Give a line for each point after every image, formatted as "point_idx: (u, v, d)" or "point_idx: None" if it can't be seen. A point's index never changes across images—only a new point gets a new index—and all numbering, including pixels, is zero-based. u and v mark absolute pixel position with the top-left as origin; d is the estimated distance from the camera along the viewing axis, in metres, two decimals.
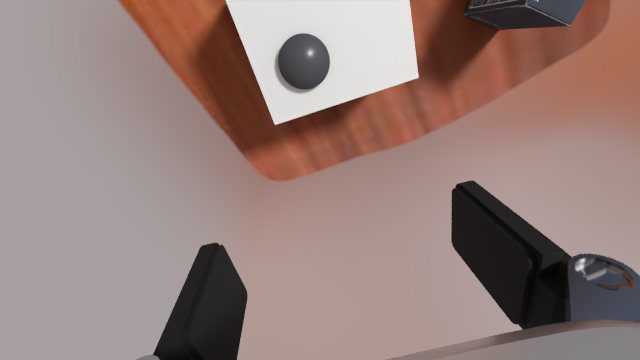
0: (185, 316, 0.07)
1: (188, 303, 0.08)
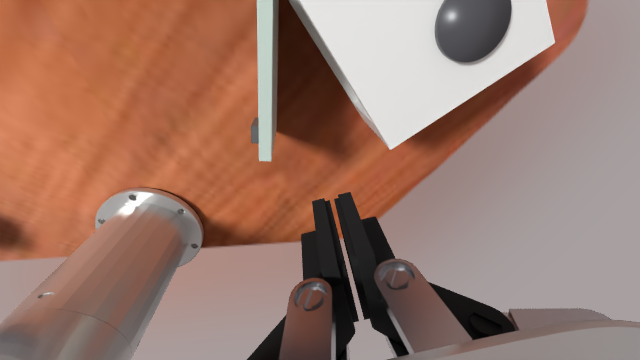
0: (334, 248, 0.08)
1: (329, 240, 0.09)
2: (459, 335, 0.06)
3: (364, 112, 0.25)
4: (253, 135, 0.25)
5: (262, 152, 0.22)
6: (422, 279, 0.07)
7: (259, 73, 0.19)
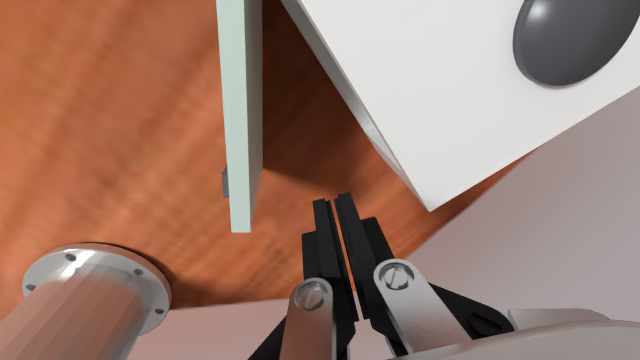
0: (334, 248, 0.08)
1: (329, 240, 0.09)
2: (458, 335, 0.06)
3: (385, 150, 0.18)
4: (226, 187, 0.17)
5: (236, 220, 0.14)
6: (421, 279, 0.07)
7: (225, 105, 0.12)
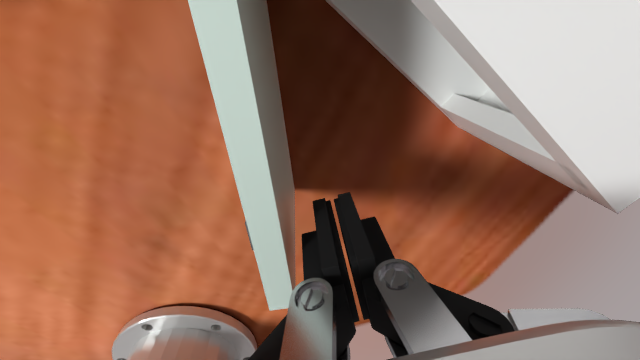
0: (334, 248, 0.08)
1: (330, 240, 0.09)
2: (458, 336, 0.06)
3: (493, 128, 0.12)
4: None
5: (273, 296, 0.10)
6: (421, 279, 0.07)
7: (229, 143, 0.07)
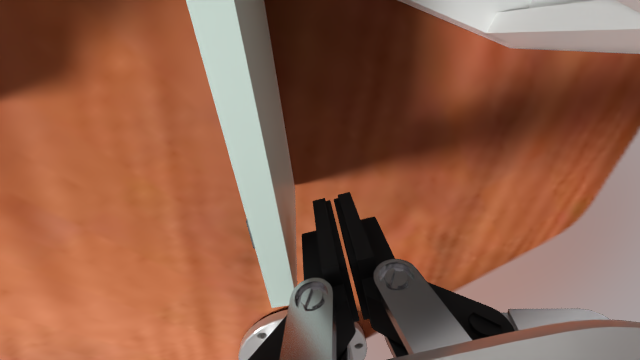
0: (334, 248, 0.08)
1: (330, 240, 0.09)
2: (458, 335, 0.06)
3: (564, 27, 0.10)
4: None
5: (275, 293, 0.10)
6: (421, 279, 0.07)
7: (229, 141, 0.07)
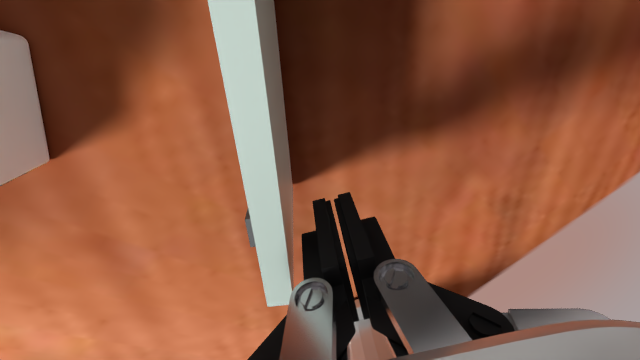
0: (334, 247, 0.08)
1: (330, 240, 0.09)
2: (458, 335, 0.06)
3: None
4: (252, 234, 0.13)
5: (272, 292, 0.10)
6: (422, 279, 0.07)
7: (238, 137, 0.07)
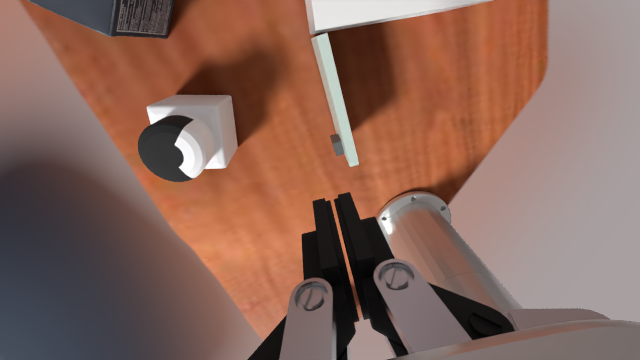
0: (334, 248, 0.08)
1: (329, 240, 0.09)
2: (458, 335, 0.06)
3: (446, 8, 0.27)
4: (336, 149, 0.32)
5: (351, 160, 0.29)
6: (421, 279, 0.07)
7: (335, 105, 0.26)
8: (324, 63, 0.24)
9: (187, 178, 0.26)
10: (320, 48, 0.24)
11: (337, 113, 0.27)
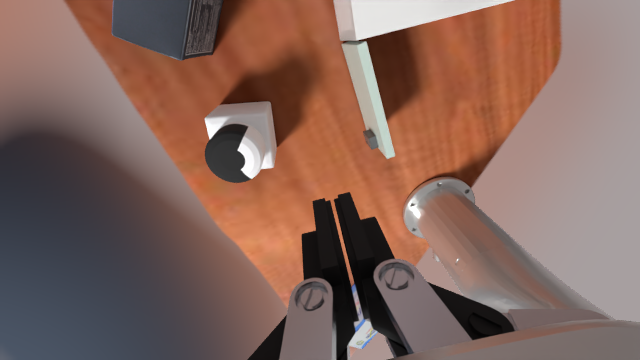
0: (334, 248, 0.08)
1: (329, 240, 0.09)
2: (458, 335, 0.06)
3: None
4: (371, 144, 0.35)
5: (387, 152, 0.32)
6: (422, 279, 0.07)
7: (373, 104, 0.29)
8: (364, 68, 0.28)
9: (247, 179, 0.30)
10: (360, 55, 0.27)
11: (375, 111, 0.30)
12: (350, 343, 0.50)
